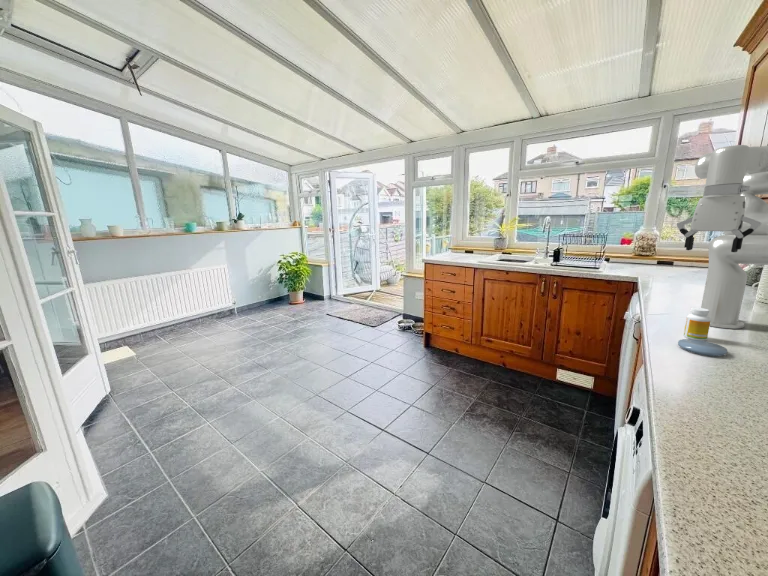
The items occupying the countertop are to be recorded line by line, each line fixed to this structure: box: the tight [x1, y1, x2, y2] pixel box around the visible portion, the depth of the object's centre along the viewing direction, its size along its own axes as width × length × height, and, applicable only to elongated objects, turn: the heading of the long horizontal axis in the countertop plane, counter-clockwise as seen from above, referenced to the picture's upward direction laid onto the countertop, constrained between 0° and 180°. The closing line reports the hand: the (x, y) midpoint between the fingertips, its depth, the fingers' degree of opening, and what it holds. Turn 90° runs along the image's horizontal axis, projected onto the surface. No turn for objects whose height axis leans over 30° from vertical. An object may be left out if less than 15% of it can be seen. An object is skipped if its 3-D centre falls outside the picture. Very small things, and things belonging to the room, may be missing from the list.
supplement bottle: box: [683, 307, 711, 341], centre depth 98 cm, size 5×5×10 cm
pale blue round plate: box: [677, 338, 728, 357], centre depth 90 cm, size 10×10×2 cm
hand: (710, 250), depth 93 cm, fingers open, 9 cm apart
